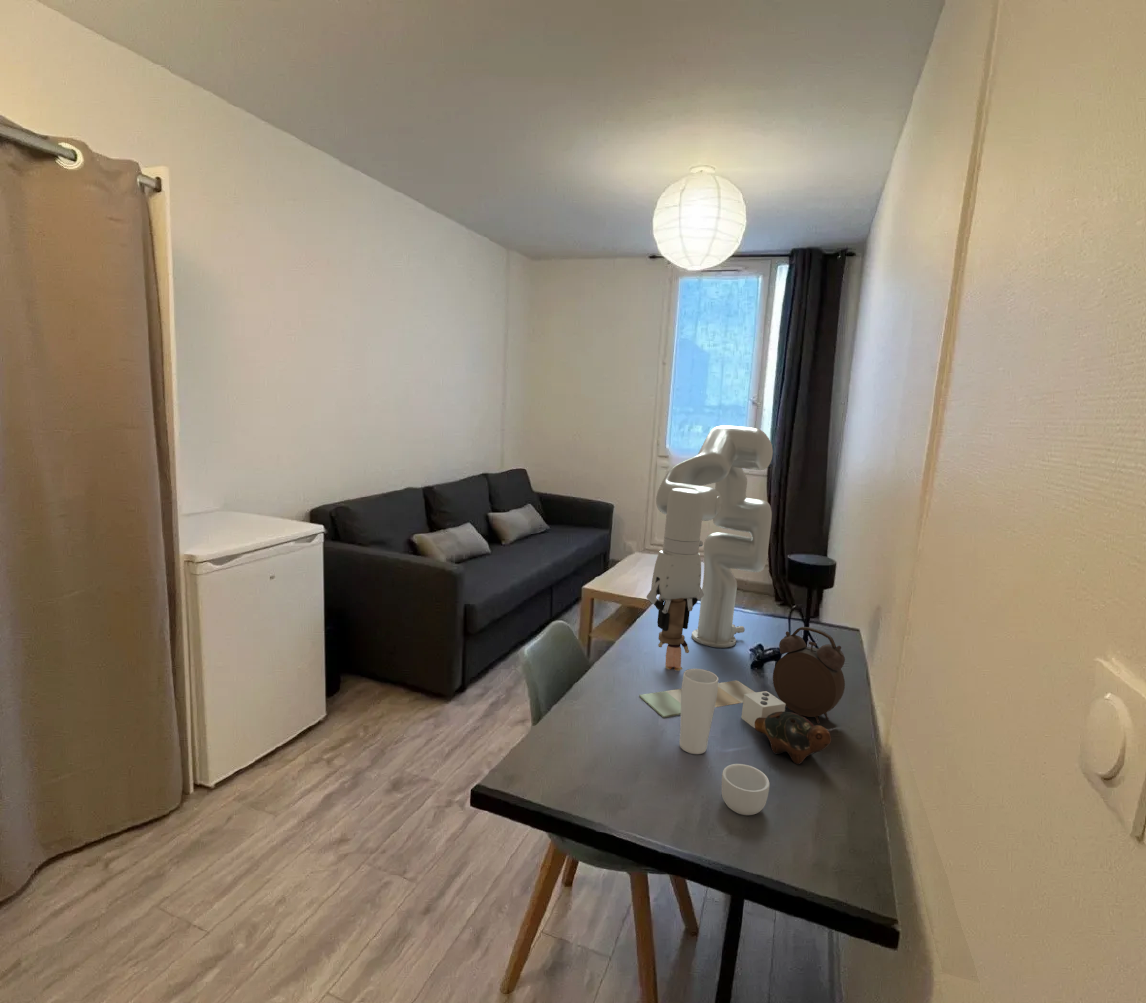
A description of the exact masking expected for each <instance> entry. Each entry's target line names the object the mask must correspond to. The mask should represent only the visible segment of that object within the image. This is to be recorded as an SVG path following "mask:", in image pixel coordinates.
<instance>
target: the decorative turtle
mask: <svg viewBox="0 0 1146 1003" xmlns="http://www.w3.org/2000/svg"><path fill="white" fill-rule="evenodd" d="M754 730H756V731H757V732H758V733H760V734H763V735H764V736H766V737H767V739H768V741H769V743H770V748H771V750H772V752H773V753H774V754H775V755H781V754H783V753H785V752H786V753H787V754H788V755H789V757H790V759H791V761H792V762H793V763H794V764H796V765H800V764H802V763H803V761H804V760H805V759H806V758H807V757H808V756H811V755H812V754H814V753H818V752H821V751H823V750H825V749H826V748H827V747H828V746H829V745H831V741H832V735H831V733H830V732H829V731H830V730H828V729H827V728H826V727H824V726H822V725H819V724H815V725H814V723H813V722H811V721H810V720H809V719H807V718H806V716H803V715H800V714H797V713H795V712H793V711H785V712H782V711H781V712H775V713H772V714H770V715H768V716H767V718H761V717H759V718H757V719H756V720H755V728H754Z"/></svg>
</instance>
